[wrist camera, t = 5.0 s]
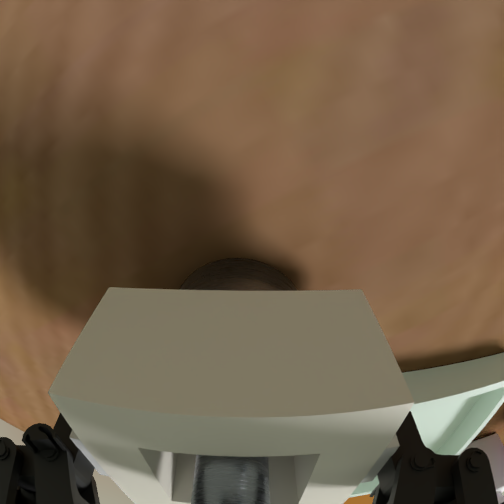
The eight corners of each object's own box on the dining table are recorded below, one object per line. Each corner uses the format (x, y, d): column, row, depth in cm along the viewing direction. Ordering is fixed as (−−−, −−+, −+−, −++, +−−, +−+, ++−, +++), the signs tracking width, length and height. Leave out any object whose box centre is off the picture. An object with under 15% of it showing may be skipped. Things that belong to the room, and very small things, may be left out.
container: (422, 476, 27) (444, 559, 16) (454, 446, 24) (487, 539, 12) (465, 463, 28) (490, 536, 16) (497, 431, 24) (532, 511, 13)
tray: (309, 381, 17) (315, 417, 15) (507, 351, 17) (523, 373, 15) (285, 481, 24) (287, 504, 22) (431, 457, 24) (438, 475, 22)
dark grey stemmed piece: (168, 257, 14) (72, 507, 4) (308, 258, 14) (380, 521, 4) (183, 357, 16) (147, 553, 7) (296, 358, 16) (322, 558, 7)
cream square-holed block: (109, 287, 10) (47, 392, 6) (361, 289, 10) (414, 402, 6) (159, 437, 14) (145, 513, 10) (318, 440, 14) (330, 518, 10)
